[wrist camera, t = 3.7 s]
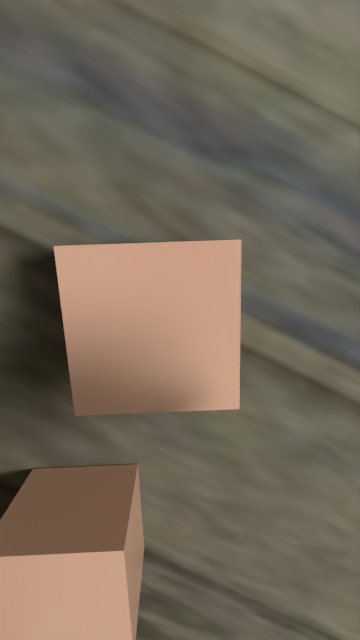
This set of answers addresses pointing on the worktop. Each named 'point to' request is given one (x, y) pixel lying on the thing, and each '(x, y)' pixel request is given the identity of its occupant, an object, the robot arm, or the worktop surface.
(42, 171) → the worktop surface
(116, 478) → the pink rectangular prism
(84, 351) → the pink block
